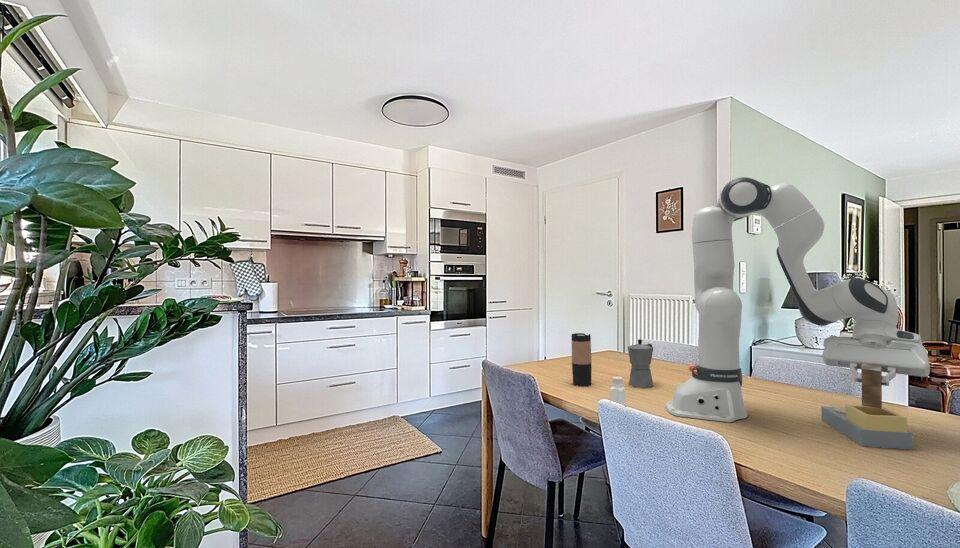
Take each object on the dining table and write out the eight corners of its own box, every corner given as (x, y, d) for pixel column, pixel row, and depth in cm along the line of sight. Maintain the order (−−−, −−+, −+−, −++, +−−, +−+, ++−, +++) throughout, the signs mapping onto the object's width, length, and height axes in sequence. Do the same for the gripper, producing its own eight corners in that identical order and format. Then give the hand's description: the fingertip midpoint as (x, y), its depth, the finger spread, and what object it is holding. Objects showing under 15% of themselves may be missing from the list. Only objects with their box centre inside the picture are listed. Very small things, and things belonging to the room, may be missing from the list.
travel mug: (572, 386, 167) (571, 335, 167) (571, 381, 174) (570, 333, 175) (592, 386, 166) (591, 335, 166) (591, 382, 173) (589, 333, 174)
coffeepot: (642, 390, 159) (641, 342, 159) (620, 385, 166) (619, 339, 167) (664, 383, 168) (662, 338, 169) (642, 379, 176) (641, 336, 176)
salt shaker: (614, 404, 142) (613, 375, 143) (626, 406, 140) (625, 377, 140) (609, 407, 139) (609, 377, 139) (621, 409, 137) (621, 379, 137)
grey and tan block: (861, 446, 104) (860, 415, 104) (821, 420, 123) (820, 393, 123) (912, 449, 101) (911, 418, 101) (863, 422, 120) (862, 395, 120)
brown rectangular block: (861, 405, 107) (861, 365, 107) (862, 402, 109) (862, 363, 109) (881, 408, 104) (880, 367, 104) (882, 405, 107) (881, 365, 107)
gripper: (823, 328, 119) (817, 368, 112) (929, 335, 104) (929, 382, 98) (825, 342, 122) (820, 382, 115) (929, 351, 107) (929, 397, 101)
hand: (871, 382), depth 106 cm, fingers closed on brown rectangular block, 3 cm apart
